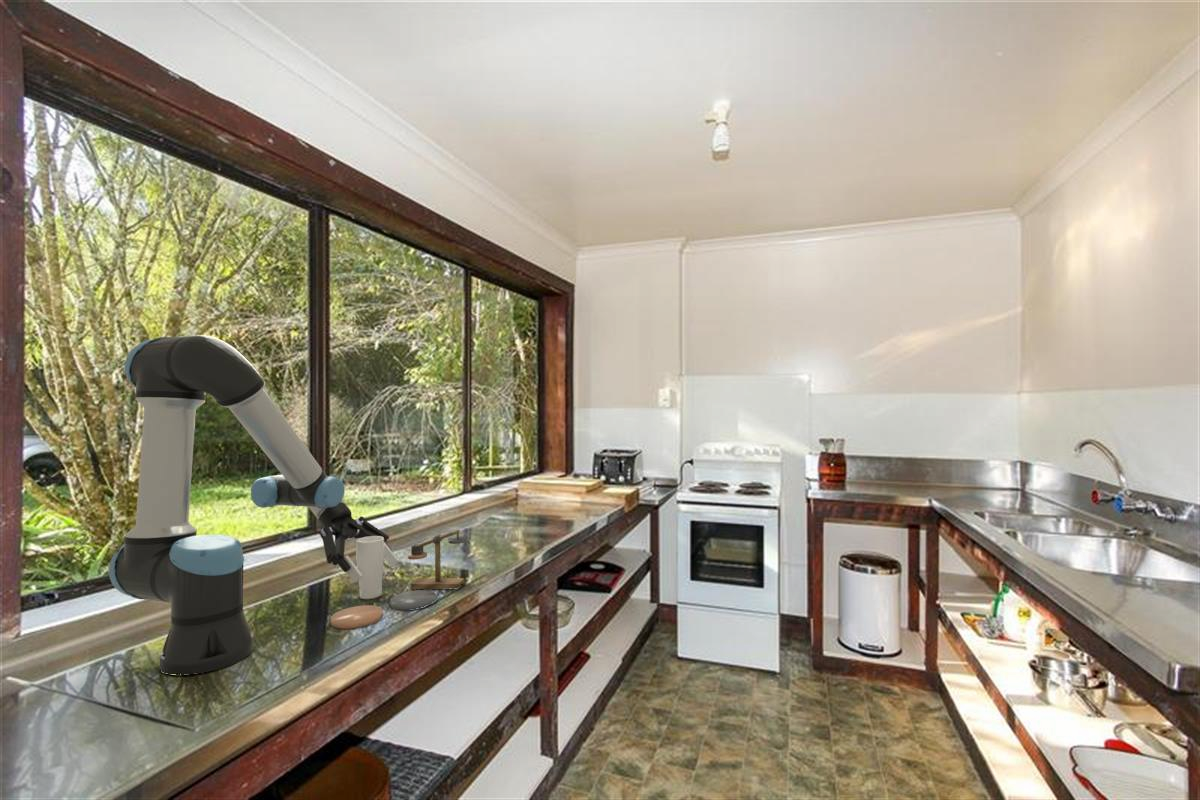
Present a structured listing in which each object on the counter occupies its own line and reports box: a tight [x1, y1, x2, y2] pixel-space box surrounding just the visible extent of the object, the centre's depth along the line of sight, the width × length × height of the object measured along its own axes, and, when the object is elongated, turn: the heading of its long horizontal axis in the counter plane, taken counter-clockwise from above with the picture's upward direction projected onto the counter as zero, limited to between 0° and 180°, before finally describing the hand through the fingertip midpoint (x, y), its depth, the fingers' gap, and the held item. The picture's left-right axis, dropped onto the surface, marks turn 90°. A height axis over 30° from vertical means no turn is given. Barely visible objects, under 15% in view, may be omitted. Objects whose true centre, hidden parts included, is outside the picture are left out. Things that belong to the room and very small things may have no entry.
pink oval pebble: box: [330, 604, 384, 630], centre depth 127 cm, size 11×11×1 cm
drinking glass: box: [355, 536, 385, 600], centre depth 142 cm, size 7×7×15 cm
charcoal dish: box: [389, 590, 437, 611], centre depth 138 cm, size 11×11×1 cm
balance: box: [407, 529, 468, 591], centre depth 150 cm, size 16×5×16 cm, turn 87°
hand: (377, 571), depth 142 cm, fingers open, 13 cm apart
